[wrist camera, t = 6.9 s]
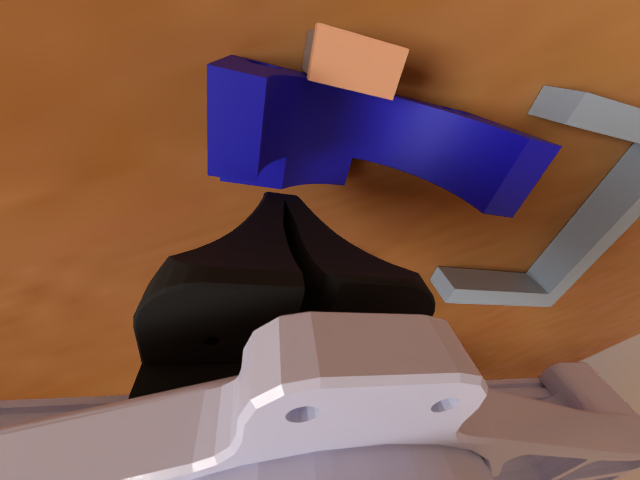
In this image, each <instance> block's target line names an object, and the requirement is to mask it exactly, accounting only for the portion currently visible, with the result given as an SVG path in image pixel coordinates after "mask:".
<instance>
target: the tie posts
mask: <svg viewBox="0 0 640 480" xmlns="http://www.w3.org/2000/svg"><path fill="white" fill-rule="evenodd" d="M408 52H409V49H407V48H404V47H400V46H397V45H394V44H390V43H387V42H383V41H380V40H376V39H373V38H370V37H366V36H363V35H359V34H356V33H353V32H349V31H346V30H342V29H339V28H336V27H332V26H329V25H325V24H322V23H316V26H315V29H313V30H309V31H308V32H307V38H306V45H305V51H304V58H303V64H302V70H303V71H305V72H306V73H307V79H308V80H309V81H313V82H318V83H322V84H326V85H330V86H334V87H339V88H343V89H347V90H351V91H355V92H360V93H364V94H368V95H372V96H377V97H381V98H385V99H389V100H393V98H394V95H395V92H396V89H397V86H398V83H399V80H400V77H401V74H402V71H403V68H404V65H405V62H406V58H407V55H408Z"/></svg>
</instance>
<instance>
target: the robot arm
mask: <svg viewBox="0 0 640 480" xmlns="http://www.w3.org/2000/svg"><path fill="white" fill-rule="evenodd" d="M434 312H435V300H434V297H433V295H432V293H431V292H430V290H429V289H428V287H427V286H426V284H425V283H424V281H423V279H422V278H421V276H420V275H419V274H418V273H416V272H413V271H410V270H408V269H405V268H402V267H399V266H396V265H393V264H391V263H388V262H386V261H384V260H381V259H379V258H377V257H375V256H373V255H371V254H369V253H367V252H365V251H363V250H361V249H359V248H358V247H356V246H354V245H352V244H351V243H349V242H348V241H346V240H345V239H343V238H342V237H340V236H339V235H338V234H336V233H335V232H334V231H332V230H331V229H330V228H329V227H328V226H327V225H325V224H324V223H323V222H322V221H321V220H320V219H319V218H318V217H317V216H316V215H315V214H314V213H313V212H312V211H311V210H310V209H309V208H308V207H307V206H306V205H305V204H304V202H303V201H302V200H301V199H300V198H299V197H298V196H296V195H288V194H280V193H273V192H266V193H265V194H264V196H263V199H262V200H261V202H260V204H259V205H258V206H257V208H256V209H255V210H254V211H253V213H252V214H251V215H250V216H249V217H248V218H247V219H246V220H245V221H244V222H243V223H242V224H241V225H239V226H238V227H237V228H236V229H234V230H233V231H232V232H230V233H228V234H227V235H225V236H223V237H222V238H220V239H218V240H216V241H214V242H212V243H209V244H207V245H204V246H202V247H199V248H197V249H194V250H190V251H187V252H183V253H180V254H177V255H173V256H169V257H168V258H167V259H166V261H165V262H164V263H163V265H162V266H161V267H160V269H159V270H158V271H157V273H156V274H155V276H154V277H153V278H152V280H151V281H150V283H149V285H148V287H147V288H146V290H145V292H144V295H143V297H142V299H141V301H140V303H139V305H138V307H137V310H136V312H135V314H134V316H133V328H134V332H135V336H136V340H137V345H138V349H139V353H140V358H141V362H142V365H141V367H140V370H139V372H138V375H137V377H136V380H135V383H134V385H133V388H132V390H131V393H130V395H118V396H94V397H71V398H47V399H23V400H0V480H615V479H618V478H620V477H622V476H624V475H627V474H629V473H631V472H634V471H636V470H638V469H640V416H639V415H638V414H637V413H636V412H635V411H634V410H633V409H632V408H631V407H630V406H629V405H628V404H627V403H626V402H625V401H624V400H623V399H622V398H621V397H620V396H619V395H618V394H617V393H616V392H615V391H614V390H613V389H612V388H611V387H610V386H609V385H608V384H607V383H606V382H605V381H604V380H603V379H602V378H601V377H600V376H599V375H598V374H597V373H596V372H595V371H594V370H593V369H592V368H591V367H590V366H589V365H588V364H587V363H584V362H564V363H556V364H554V365H551V366H550V367H548V368H547V369H546V370H544V371H543V372H542V373H541V374H540V375H539V378H519V379H496V380H484V378H483V377H482V375H481V374H480V372H479V370H478V369H477V367H476V366H475V364H474V363H473V361H472V360H471V358H470V356H469V355H468V353H467V352H466V350H465V349H464V347H463V346H462V344H461V343H460V341H459V339H458V338H457V336H456V335H455V333H454V332H453V330H452V329H451V327H450V325H449V324H448V322H447V321H446V320H443V319H439V318H435V317H432V316H433V314H434Z"/></svg>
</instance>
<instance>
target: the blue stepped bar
mask: <svg viewBox="0 0 640 480" xmlns="http://www.w3.org/2000/svg"><path fill="white" fill-rule="evenodd" d="M207 140H208V175H209V176H216V177H220V181H225V182H232V183H240V184H247V185H254V186H262V187H269V188H277V189H284V188H287V187H291V186H296V185H303V184H335V185H345V182H346V178H347V175H348V171H349V168H350V164H351V161H352V158H356V159H361V160H366V161H370V162H374V163H378V164H382V165H385V166H389V167H392V168H395V169H398V170H401V171H404V172H407V173H409V174H412V175H415V176H417V177H420V178H422V179H424V180H427V181H429V182H431V183H433V184H435V185H437V186H440V187H442V188H444V189H445V190H447V191H449V192H451V193H453V194H455V195H456V196H458V197H460V198H461V199H463V200H465V201H466V202H468V203H469V204H471V205H472V206H474V207H475V208H476V209H478V210H479V211H480V212H482V213H483V214H490V215H497V216H504V217H511V218H513V216H514V215H515V213H516V212H517V210H518V209H519V208H520V206H521V205H522V203H523V202H524V200H525V199H526V197H527V196H528V195H529V193H530V192H531V190H532V189H533V187H534V186H535V184H536V183H537V182H538V180H539V179H540V177H541V176H542V174H543V173H544V172H545V170H546V169H547V167H548V166H549V164H550V163H551V161H552V160H553V159H554V157H555V156H556V154H557V153H558V151H559V150H560V148H561V147H562V146H559V145H556V144H554V143H551V142H548V141H545V140H543V139H540V138H537V137H534V136H531V135H529V134H526V133H523V132H520V131H518V130H515V129H512V128H509V127H506V126H504V125H501V124H498V123H495V122H493V121H490V120H487V119H484V118H481V117H479V116H476V115H473V114H470V113H467V112H463V111H459V110H455V109H451V108H447V107H443V106H439V105H435V104H431V103H426V102H422V101H418V100H414V99H410V98H406V97H402V96H398V95H394V98H393V100H389V99H385V98H381V97H377V96H372V95H368V94H364V93H360V92H355V91H351V90H347V89H343V88H339V87H334V86H330V85H326V84H322V83H318V82H313V81H309V80H308V79H307V73H304V72H300V71H296V70H291V69H287V68H283V67H279V66H275V65H271V64H267V63H263V62H259V61H255V60H251V59H246V58H242V57H238V56H234V55H230V56H227V57H225V58H222V59H219V60H217V61H214V62H212V63H209V64H207Z"/></svg>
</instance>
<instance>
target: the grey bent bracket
mask: <svg viewBox="0 0 640 480" xmlns="http://www.w3.org/2000/svg"><path fill="white" fill-rule="evenodd" d="M527 114H530V115H533V116H537V117H540V118H544V119H547V120H551V121H555V122H558V123H562V124H565V125H569V126H573V127H577V128H581V129H585V130H589V131H592V132H596V133H600V134H604V135H608V136H612V137H616V138H620V139H624V140H627V141H631V142H634V143H633V144H632V146H631V147H630V148H629V149H628V150H627V152H626V153H625V154H624V155H623V156H622V158H621V159H620V160H619V161H618V162H617V164H616V165H615V166H614V167H613V168H612V170H611V171H610V172H609V173H608V174H607V176H606V177H605V178H604V179H603V181H602V182H601V183H600V184H599V185H598V187H597V188H596V189H595V190H594V191H593V193H592V194H591V195H590V196H589V197H588V199H587V200H586V201H585V202H584V203H583V205H582V206H581V207H580V208H579V209H578V211H577V212H576V213H575V214H574V216H573V217H572V218H571V219H570V220H569V222H568V223H567V224H566V225H565V226H564V228H563V229H562V230H561V231H560V232H559V234H558V235H557V236H556V237H555V238H554V240H553V241H552V242H551V243H550V244H549V246H548V247H547V248H546V249H545V251H544V252H543V253H542V254H541V255H540V257H539V258H538V259H537V260H536V261H535V263H534V264H533V265H532V266H531V267H530V269H529V270H528V271H527V272H526V273H517V272H504V271H491V270H478V269H465V268H452V267H439V266H438V267H437V269H436V270H435V272H434V274H433V275H432V277H431V279H430V281H431V282H432V284H433V285H434V287H435V288H436V290H437V291H438V292H439V294H440V295H441V297H442V298H443V300H444V301H445V303H461V304H487V305H513V306H538V307H551V306H552V305H553V304H554V303H555V302H556V301H557V300H558V299H559V298H560V297H561V296H562V295H563V294H564V293H565V292H566V291H567V290H568V289H569V288H570V287H571V286H572V285H573V284H574V283H575V282H576V281H577V280H578V279H579V278H580V277H581V276H582V275H583V274H584V273H585V272H586V271H587V270H588V269H589V267H590V266H591V265H592V264H593V263H594V262H595V261H596V260H597V259H598V258H599V257H600V256H601V255H602V254H603V253H604V252H605V251H606V250H607V249H608V248H609V247H610V246H611V245H612V244H613V243H614V242H615V241H616V240H617V239H618V238H619V237H620V236H621V235H622V234H623V233H624V232H625V231H626V230H627V229H628V228H629V227H630V226H631V225H632V224H633V223H634V222H635V221H636V220H637V219H638V218H639V217H640V108H637V107H634V106H631V105H627V104H624V103H621V102H617V101H614V100H611V99H608V98H604V97H601V96H598V95H594V94H591V93H588V92H583V91H576V90H570V89H564V88H558V87H551V86H545V85H544V86H543V88H542V90H541V91H540V93H539V95H538V96H537V98H536V100H535V102H534V103H533V105H532V107H531V108H530V110H529V112H528V113H527Z"/></svg>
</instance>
